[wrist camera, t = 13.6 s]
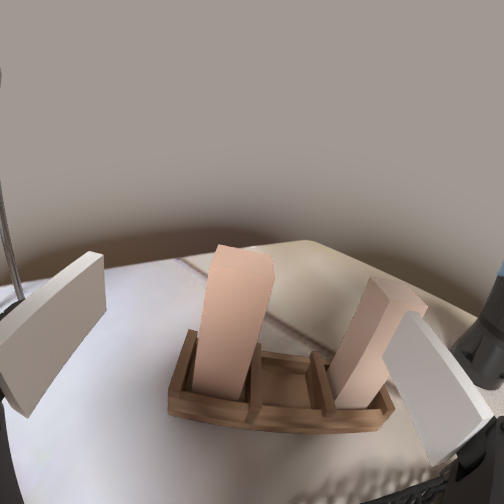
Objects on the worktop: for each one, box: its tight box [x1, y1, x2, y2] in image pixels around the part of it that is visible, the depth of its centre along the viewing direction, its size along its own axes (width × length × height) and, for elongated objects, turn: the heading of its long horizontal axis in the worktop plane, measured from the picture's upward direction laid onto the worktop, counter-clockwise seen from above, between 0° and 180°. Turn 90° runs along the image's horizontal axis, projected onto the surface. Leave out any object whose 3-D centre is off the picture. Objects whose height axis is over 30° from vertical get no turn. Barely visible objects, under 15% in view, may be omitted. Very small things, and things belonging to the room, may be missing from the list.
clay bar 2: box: [326, 277, 428, 410], centre depth 24 cm, size 4×4×14 cm
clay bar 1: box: [191, 245, 275, 402], centre depth 23 cm, size 4×4×14 cm
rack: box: [168, 329, 395, 434], centre depth 25 cm, size 22×9×4 cm, turn 89°
